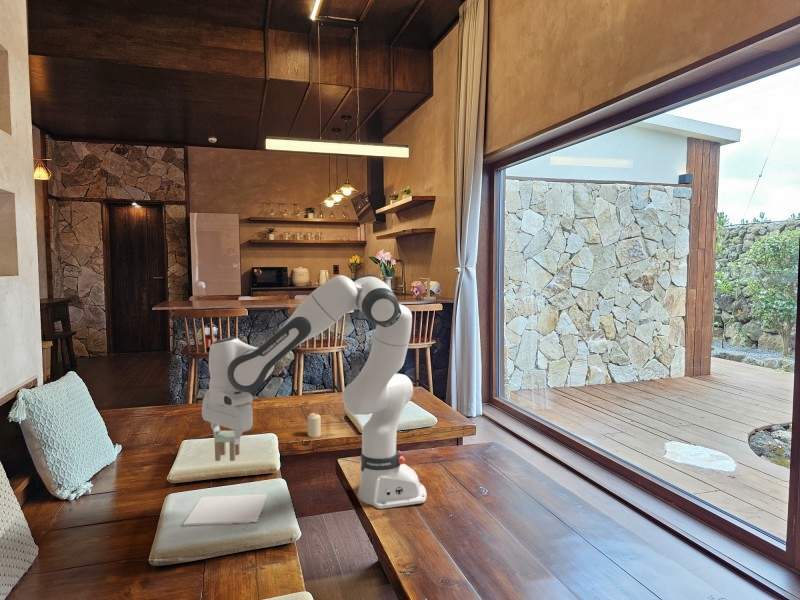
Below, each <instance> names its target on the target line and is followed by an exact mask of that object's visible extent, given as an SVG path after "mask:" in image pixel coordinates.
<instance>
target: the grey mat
mask: <svg viewBox="0 0 800 600" xmlns="http://www.w3.org/2000/svg"><path fill="white" fill-rule="evenodd" d="M268 495H269V494H268V493H267V494H265V493H264V494H263V493H262V494H243V495H242V494H241V495H239V494H238V495H214V496H211V495H210V496H201V497H200V498H199V500H198V501H197V503H196V504H195V505H194V506H193V509H192V510H191V511H190V513H189V515H188V516H187V518H186V519H185V520H184V522H182V523H183V524H182V525H183V527H186V526H187V527H190V526H212V525H213V526H215V525H233V523H239V524H251V523H250V522H257V521H258V522H259V520H258V519H260V517H259V516H261V515H262V511H263V509H264V506H265V503H266V501H267V498H268ZM258 522H257V523H258Z"/></svg>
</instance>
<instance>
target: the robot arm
mask: <svg viewBox="0 0 800 600" xmlns="http://www.w3.org/2000/svg"><path fill="white" fill-rule="evenodd" d="M301 301H302V302H300V304H298V306H297V307H296V308H295V310H294V311H293V313H292V314H291V315H290V317H289V318H287V321H286V322H285V323H284V324H283V325H282V327H281V328H279V330H278V331H277V332H276V333H275V334H273V335H272V336H271V337H270V338H269V339H267V340H266V341H265V342H264V343H262V344H261V345H260V346H259V347H256V346H253V345H251V344H248V343H245V342H244V341H242V340H240V339H239V338H238V337H236V336H231V337H223V338H221V339H217V340H215V341H214V342H213V343H211V345H210V348H209V352H208V372H209V377H210V379H209V383H208V386H209V388H208V389H207V390H206V391H205V392H204V397H203V399H202V406H201V417H202V419H203V420H204V421H206V422H209V423H210V427H211V429H212V433H213V438H214V437H215V436H216V435H217V434H218V433H219V432H220V431H221V428H220V427H224V428H227V429H231V430H232V431H234V433H235V435H234V437H233V438H232V443H233V444H235V445H237V444H239V443H240V444H241V437H242V434H243V433H244V432H247V431H250V430H251V429H252V428H253V426H254V425H253V424H254V414H253V412H254V411H253V406H252V404H251V403H252V402H253V399H254V398H253V394H252V392H255V391H257V390H258V389H259V388H260V387H261V386H262V385H263V383H264V382H265V381H266V380H267V379H268V378H269V376H270V375H272V373H273V372H274V370H275V365H276V364H277V363H278V362H280V361H281V360H282V359H283V358H285V356H287V355H288V354H289V353H290V352H291V351H292V350H293V349H295V348H296V347H297V346H299V345H301V344H302V343H305V342H306V341H308V340H310V339H312V338H314V337H317V336H318V335H320V334H321V333H323V332H325V331H326V330H327V329H329V328H330V327H332V326H333V325H334V324H335V323H337V322H338V321H339V320H340V319H342V317H343V316H345V314H348V313H349V312H351V311H356V310H357V311H358V310H359V311H360V312H361V313H362V314H363V316H364V317H365V319H366V320H368V321H369V322H371V323H373V324H375V325H376V327H375V331H374V334H373V339H372V343H371V348H370V351H369V355H368V358H367V360H366V362H365V364H364V365H363V366H362V368H361V371H360V372H359V373H358V374H357V376H355V378H354V379H353V380H352V381H351V382H349V384H347V385H346V386H345V388H344V390H343V394H342V402H343V405H344V408H345V409H346V410H347V411H348V412H349V413H350V414H351V415H354V416H355V415H356V416H357V415H358V416H361V415H363V416H364V415H366V416H367V415H371V417H370V418H369V420H368V421H367V422H366V423H365V424H364V425H363V427H362V431H361V452H360V457H359V458H360V461H359V462H360V463H359V464H360V465H359V466H360V471H361V474H360V481H359V486H358V491H357V498H358V499H359V500H360V501H362V502H363V503H365V504H367V505H371V506H373V507H374V508H376V509H379V510H380V509H381V510H382V509H388V508H396V507H405V506H410V505H417V504H423V503H424V502H425V501H427V497H428V496H427V495H428V493H427V489H426V487H425V486H424V485H423V483H421V482H420V480H419V476H418V474H417V472H416V471H415V470H414V469H413V468H412V467H410V466H408V465H407V464H405V462H406V459H405V457H404V456H403V454H402V452H401V451H400V450H397V433H398V425H399V422H400V419H401V416H402V413H403V411H404V409H405V407H406V405H407V404H408V402H409V401H410V400H411V399H412V397H413V395H414V385H413V382H412V379H410V378H409V376H407V375H406V374H402V373H398V372H399V371H400V370H401V369H402V367H403V366H404V364H405V360H406V356H407V352H408V347H409V344H410V340H411V334H412V327H413V326H412V325H413V314H412V311H411V310H410V309H409V307H407V306H405V305H404V304H400V303H399V300H398V297H397V295H395V293H394V292H393V290H392V288H391V287H390V286H389V284H387V283H386V282H384V281H383V280H382V279H381V278H380V277H379V276H377V275H374V274H363V275H360V276H358V277H353V278H349V277H348V276H346V275H342V274H341V275H340V274H339V275H336V276H333V277H332V278H330V279H328V280H327V281H325V282H324V283H322V284H320V285H319V286H318V287H317V288H315V289H314V290H313V291H312V292H311V293H310V294H308V295H307V296H306V297H305V298H304V299H303V300H301Z"/></svg>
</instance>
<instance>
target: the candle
mask: <svg viewBox="0 0 800 600" xmlns="http://www.w3.org/2000/svg"><path fill="white" fill-rule="evenodd" d="M321 421H322V418H321V415H320V414H319V413H317V412H313V413H309V414H308V416H307V436H308V437H310V438H319V437H320V436H321V435H322V431H321V430H322V427H321V426H322V425H321V423H322V422H321Z"/></svg>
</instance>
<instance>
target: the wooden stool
mask: <svg viewBox="0 0 800 600" xmlns="http://www.w3.org/2000/svg"><path fill="white" fill-rule="evenodd" d="M234 435H235V433H234V430H220V432H219V433H218V434H217V435H216V436H215V437H214V436H213V439H214V441H213V442H214V460H215V462H220V461H221V459H222V456H226V455H227V450H226V449H227V448H226V443H229V462H235V460H236V456H239V455H240V454H241V442H240V443H239V444H237V445H235V444H233V443H232V438H233V437H234Z"/></svg>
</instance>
